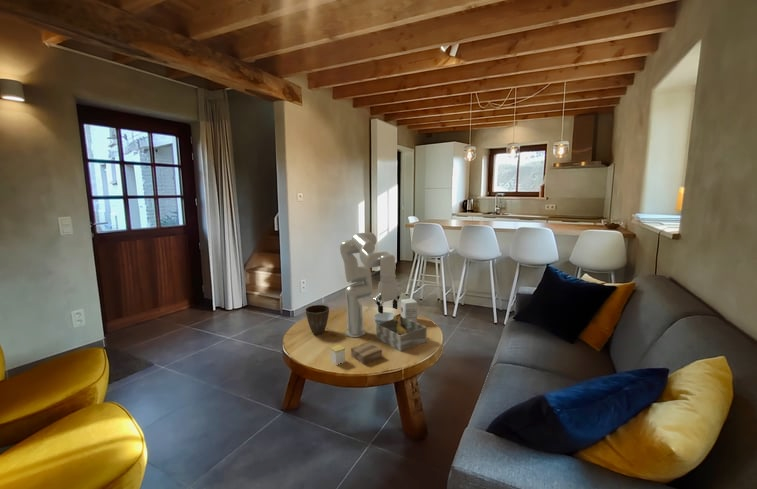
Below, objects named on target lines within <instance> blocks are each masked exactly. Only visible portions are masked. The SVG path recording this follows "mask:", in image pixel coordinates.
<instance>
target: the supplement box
mask: <svg viewBox="0 0 757 489" xmlns="http://www.w3.org/2000/svg"><path fill="white" fill-rule="evenodd" d="M400 314H401V317H405V318H407V319H409V320H411V321H414V322H416V323H418V301H416V300H415V299H414V298H411V297H410V298H405V299H404V298H402V299H400Z"/></svg>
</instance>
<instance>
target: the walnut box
mask: <svg viewBox="0 0 757 489" xmlns="http://www.w3.org/2000/svg"><path fill="white" fill-rule="evenodd" d="M350 352H351V353H350V354H351V355H350V356H351V358H353V359H355V360H356V361H357V360H358V362H359V363H360V362H361V364H362V365H364V366H365V365H368V364H370V363H372V362H375V361H379V360H381V359H382V358H383V349H381V348H379V347H378V346H376V345H374V344H373V343H371V342H366V343H363V344H360V345H357V346H354V347H351V349H350Z"/></svg>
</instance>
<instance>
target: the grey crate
mask: <svg viewBox="0 0 757 489" xmlns="http://www.w3.org/2000/svg"><path fill="white" fill-rule="evenodd" d="M400 319H401V326H402V327H403V328H404V329H406V331H407V333H406V334H403V335H398V334H396V333H394V332H396V331H397V330H396V328H397V323H398V321H396V322H394V321H393V319H392V320H388V321H385V322H382V323H378V324H377V323H376V324H375V325H376V339H377V340H379V341H380V342H383V343H385V344H386V345H388V346H389V347H392V348H394V349H396V350H397V351H398V352H402V351H405V350H408V349H410V348H413V347H417V346H418V345H421V344H423V343H426V342H427V338H428V335H427V333H428V332H427V330H428V329H427V328H428V327H427V326H425V325H423V324H420V323H418V322H417V323H416V322H414V321H411V320H409V319H407V318H405V317H401V318H400Z"/></svg>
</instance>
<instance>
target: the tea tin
mask: <svg viewBox="0 0 757 489" xmlns="http://www.w3.org/2000/svg"><path fill="white" fill-rule="evenodd" d="M329 349H330V362H331V361H332V362H333V365H334V366H339V365H341V364H340V363H342V364H344V363H343V362H345V363H346V348H345V347H344V346H343V345H341V344H337V345H334V346H331V347H329ZM332 362H331V363H332ZM338 364H339V365H338Z"/></svg>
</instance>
